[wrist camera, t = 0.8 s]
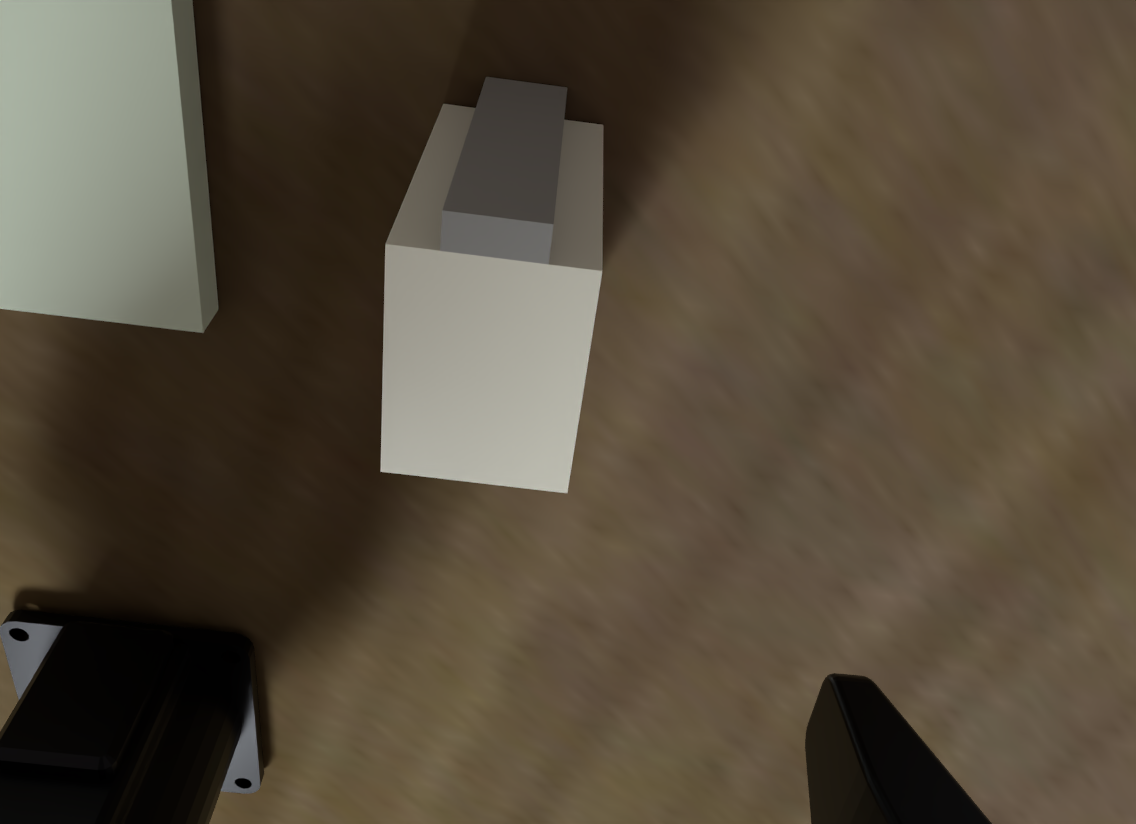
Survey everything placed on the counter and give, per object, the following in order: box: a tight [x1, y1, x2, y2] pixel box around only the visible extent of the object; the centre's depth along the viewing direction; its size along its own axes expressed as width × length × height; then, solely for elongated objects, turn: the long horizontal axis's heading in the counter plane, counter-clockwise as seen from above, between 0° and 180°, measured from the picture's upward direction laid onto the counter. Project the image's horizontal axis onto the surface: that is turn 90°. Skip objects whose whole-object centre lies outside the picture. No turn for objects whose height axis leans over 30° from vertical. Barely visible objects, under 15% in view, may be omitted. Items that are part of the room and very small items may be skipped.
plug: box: [381, 77, 603, 493], centre depth 17 cm, size 5×3×6 cm, turn 173°
